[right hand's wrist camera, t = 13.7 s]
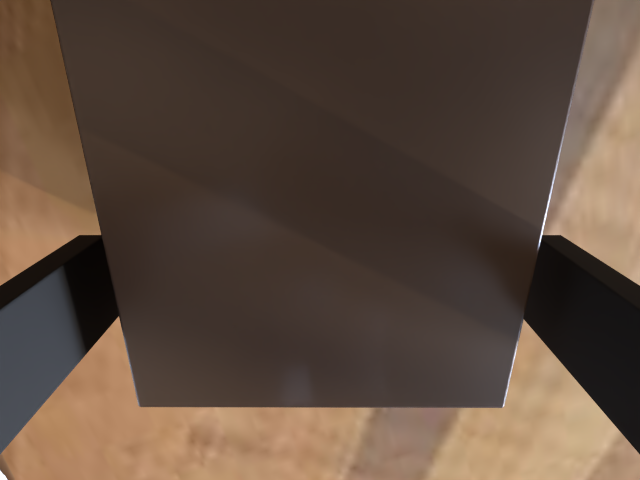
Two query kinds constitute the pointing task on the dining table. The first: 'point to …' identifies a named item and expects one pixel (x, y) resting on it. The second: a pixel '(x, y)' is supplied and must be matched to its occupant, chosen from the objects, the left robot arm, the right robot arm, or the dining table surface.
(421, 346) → the cabinet
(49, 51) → the dining table surface
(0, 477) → the hard drive box
